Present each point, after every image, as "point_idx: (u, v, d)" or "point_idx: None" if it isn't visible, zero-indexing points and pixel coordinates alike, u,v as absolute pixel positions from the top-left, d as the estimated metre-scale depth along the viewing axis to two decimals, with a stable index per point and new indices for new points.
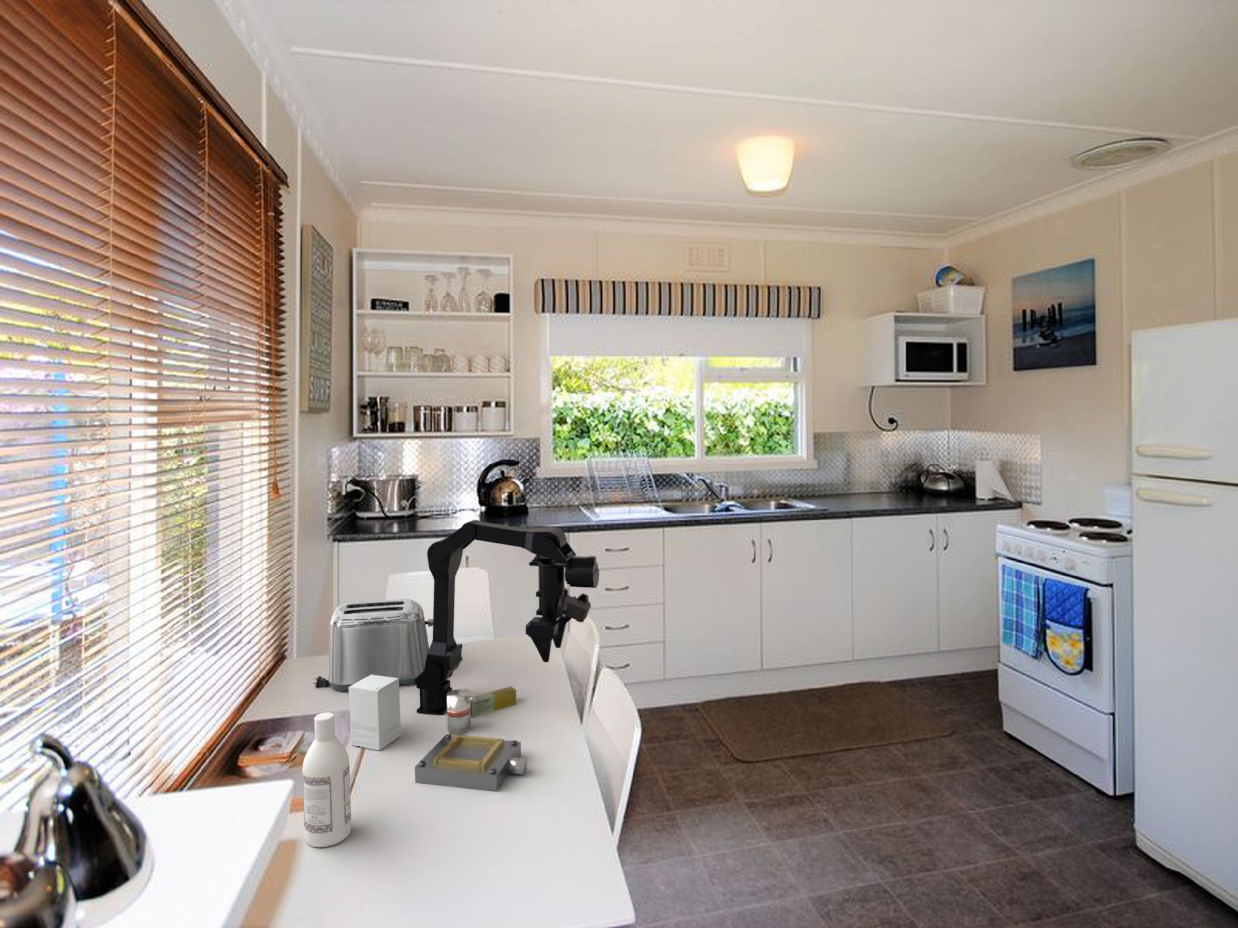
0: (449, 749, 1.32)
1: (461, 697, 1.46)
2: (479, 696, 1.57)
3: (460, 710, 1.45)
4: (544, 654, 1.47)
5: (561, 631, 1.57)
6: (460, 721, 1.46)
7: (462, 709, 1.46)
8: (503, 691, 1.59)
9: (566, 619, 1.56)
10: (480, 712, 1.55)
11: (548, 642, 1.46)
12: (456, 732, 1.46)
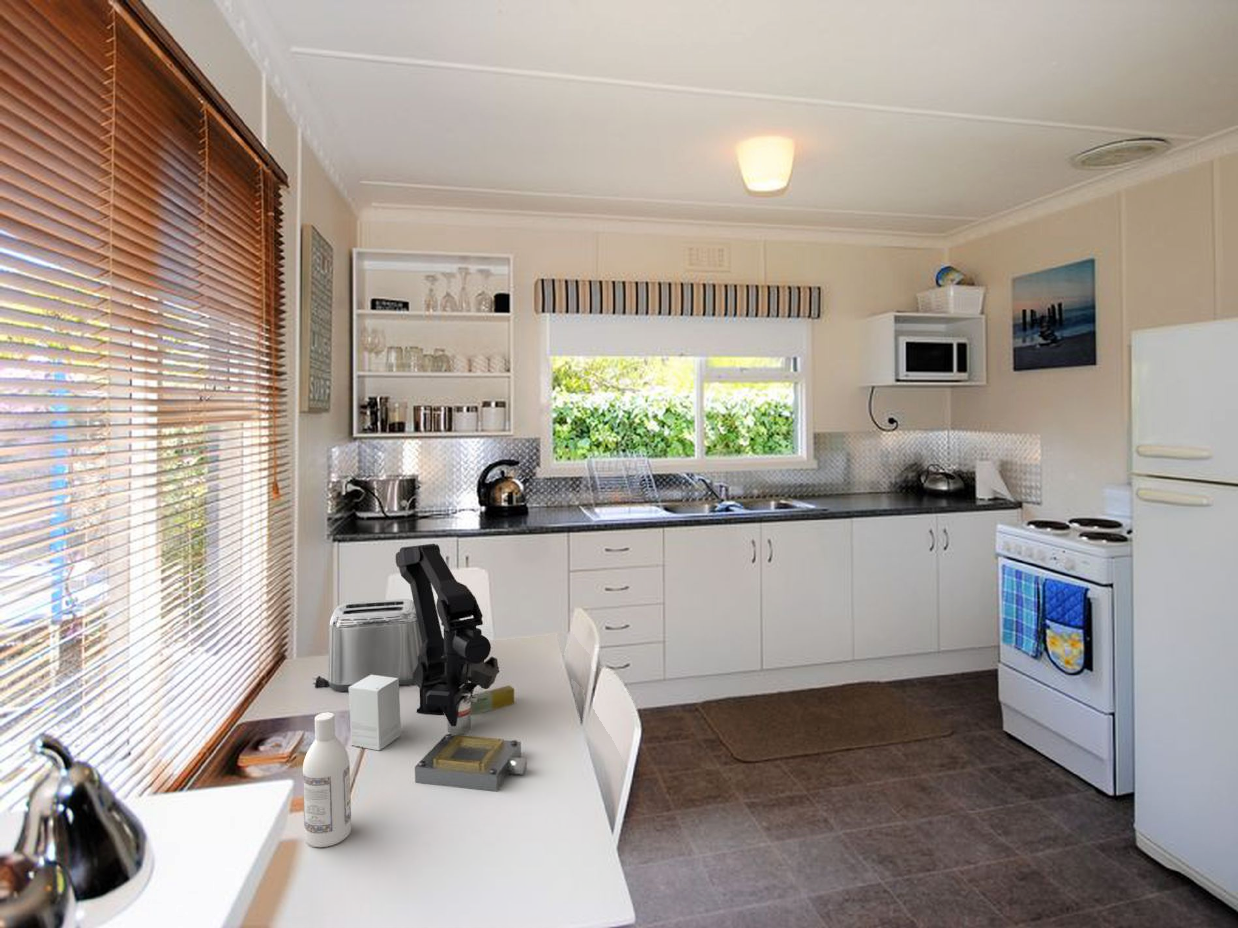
0: (449, 749, 1.32)
1: None
2: (477, 695, 1.57)
3: (460, 710, 1.45)
4: (451, 718, 1.45)
5: None
6: (460, 721, 1.46)
7: (462, 709, 1.46)
8: (501, 690, 1.60)
9: (472, 685, 1.50)
10: (478, 711, 1.56)
11: (454, 707, 1.43)
12: (456, 732, 1.46)
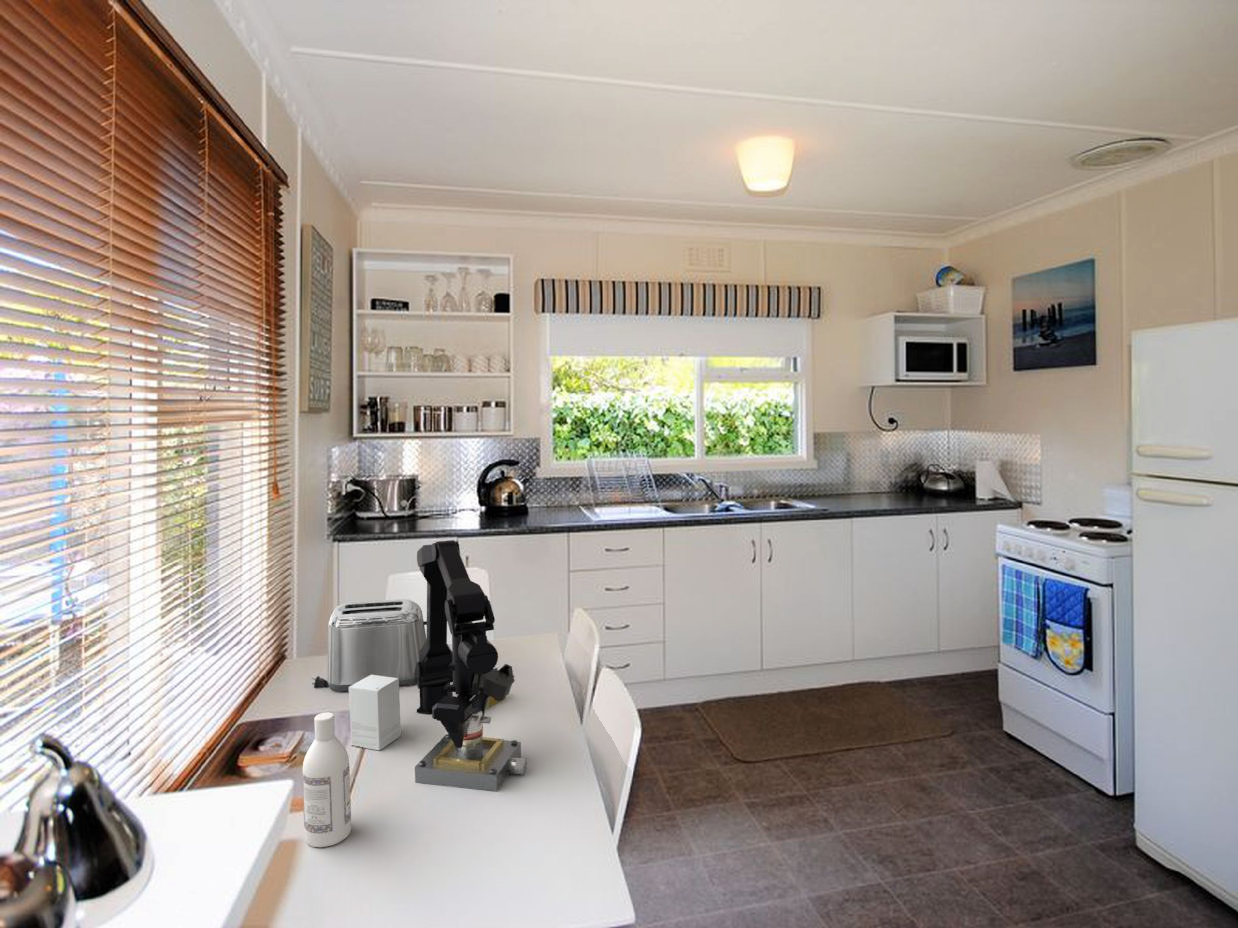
0: (449, 749, 1.32)
1: (472, 717, 1.29)
2: None
3: (471, 732, 1.29)
4: (456, 739, 1.26)
5: (482, 706, 1.35)
6: (471, 744, 1.29)
7: (473, 731, 1.29)
8: None
9: None
10: None
11: (460, 726, 1.25)
12: (467, 757, 1.29)
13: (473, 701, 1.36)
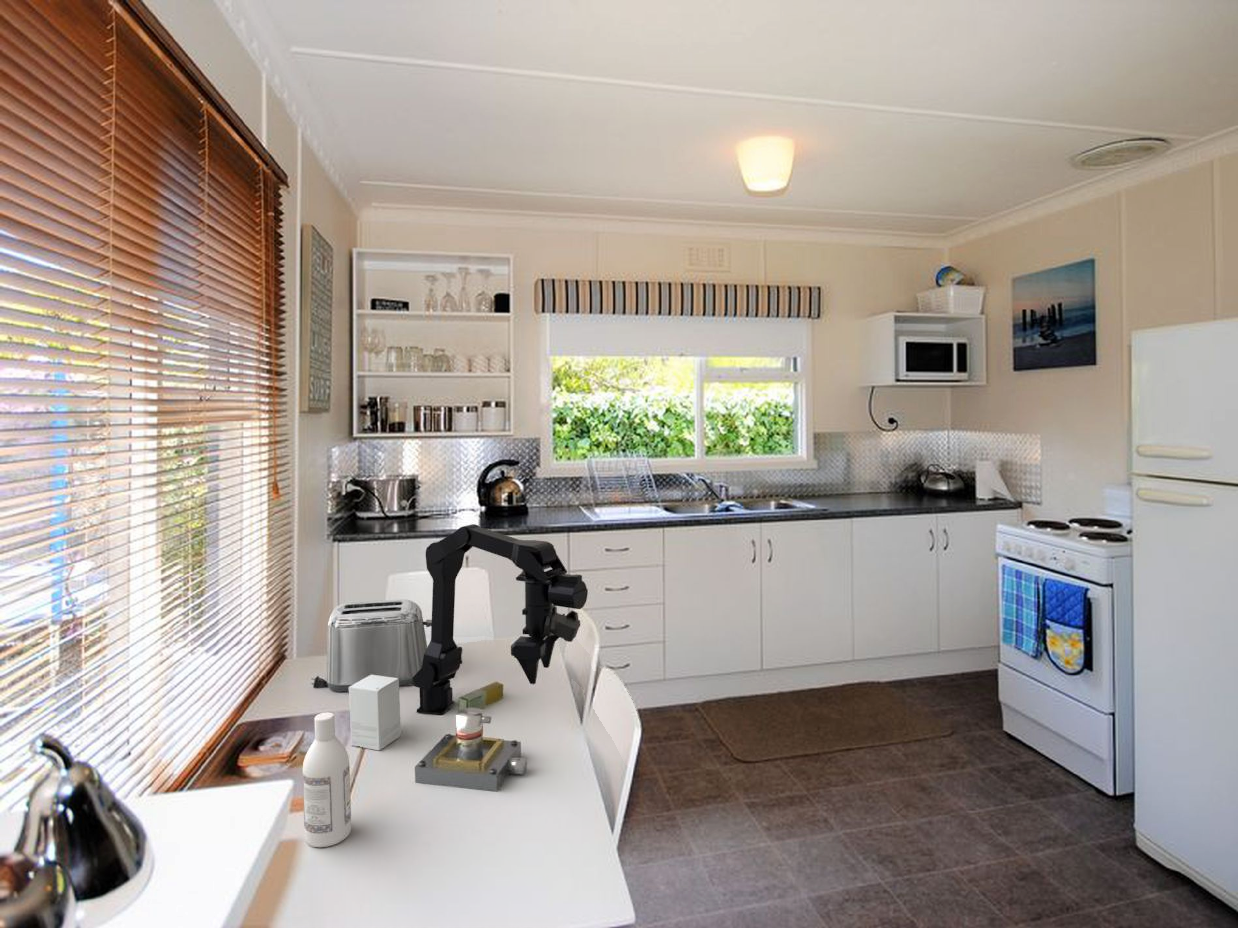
0: (449, 749, 1.32)
1: (472, 717, 1.29)
2: (471, 694, 1.58)
3: (471, 732, 1.29)
4: (531, 675, 1.39)
5: (549, 650, 1.49)
6: (471, 744, 1.29)
7: (473, 731, 1.29)
8: (492, 686, 1.62)
9: (555, 637, 1.49)
10: None
11: (535, 663, 1.38)
12: (467, 756, 1.29)
13: None
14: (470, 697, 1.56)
